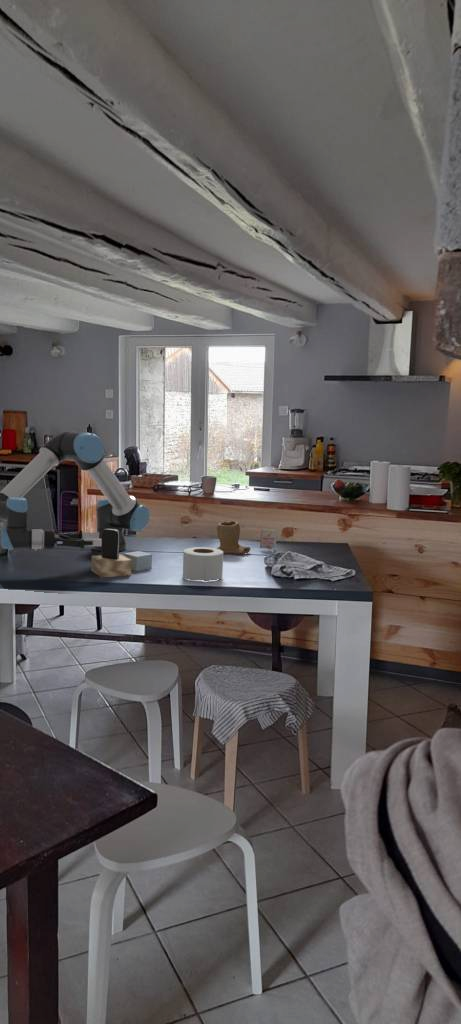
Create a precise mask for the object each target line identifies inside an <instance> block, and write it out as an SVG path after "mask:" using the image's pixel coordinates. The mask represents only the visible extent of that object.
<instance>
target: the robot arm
mask: <svg viewBox="0 0 461 1024" xmlns="http://www.w3.org/2000/svg"><path fill="white" fill-rule="evenodd" d="M104 448H105V445H104V442H103V440H102V439H101V437H99V436H98V435H96V434H94V433H92V432H79V431H63V432H60V433H58V434H57V435H54V436H53V437H52V438H50V439H49V440H48V441H46V442H45V444H43V445H42V446H41V447H40V448H39V451H38V452H39V453H38V454H36V456H35V457H34V458H33V459H31V461H30V462H29V463H28V464H27V465H25V467H24V468H23V469H22V470H21V471H20V472H19V473H17V474H16V476H15V477H13V478H12V480H10V482H8V484H6V486H5V487H4V488H3V489H1V490H0V520H1V521H5V522H6V528H5V529H4V528H3V529H1V533H0V546H1V548H2V549H3V550H4V549H5V550H14V551H15V550H34V551H38V550H42V549H43V548H44V549H45V550H54V549H55V544H56V546H57V547H72V548H81V549H85V547H92V550H94V551H97V552H102V531H103V530H104V529H117V530H119V531H120V534H121V541H120V543H119V552H123V551H126V550H127V542H126V539H125V535H124V532H123V531H124V530H127V531H132V532H141V531H143V530H144V529H145V528H146V527H147V526H148V524H149V521H150V516H151V514H150V510H149V508H148V507H147V506H146V505H144V504H140V503H139V502H138V500H137V499H136V497H135V496H134V495H129V493H128V492H127V490H126V489H125V488H124V486H123V484H122V483H121V482H120V480H119V478H117V476H116V475H115V474H114V472H113V470H112V469H111V467H110V466H109V465H108V463H107V462H106V461H105V455H106V454H105V449H104ZM64 461H74V462H75V464H76V465H77V466H78V468H79V469H80V470H81V471H83V472H86V473H88V475H89V476H90V478H91V480H93V482H94V483H95V484H96V486H97V487H98V489H99V490H100V492H101V493H102V494H103V496H104V497H105V498H102V499H99V500H98V501H97V503H96V506H97V507H96V532H90V531H89V532H88V531H87V532H83V530H78V531H70V532H57V533H56V534H55V529H53V528H50V529H47V528H46V529H44V530H43V528H39V529H38V528H37V529H35V528H34V529H33V528H32V529H28V511H29V508H28V500H27V498H25V497H24V496H25V495H26V494H27V493H28V492H30V490H31V489H32V488H33V487H34V486H35V485H36V484H37V483H38V482H39V481H40V480H41V479H42V478H44V477H45V475H46V474H47V473H48V472H50V470H51V469H52V468H53V467H58V466H59V465H60V464H61V463H62V462H64Z"/></svg>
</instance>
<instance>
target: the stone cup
mask: <svg viewBox="0 0 461 1024" xmlns="http://www.w3.org/2000/svg"><path fill="white" fill-rule="evenodd" d="M216 533H217V537H218V541H219V546H218V547H217V548H216V549H220V550H222V551H223V554H228V553H229V555H241V554H245V553H247V554H249V552H250V551H251V547H250V546H243V545H240V544H239V540H240V534H241V525H240V523H239V522H238V521H236V520H230V521H228V520H227V521H225V520H224V521H220V522H218V524H217V525H216ZM245 555H246V554H245Z"/></svg>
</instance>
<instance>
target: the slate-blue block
mask: <svg viewBox="0 0 461 1024" xmlns="http://www.w3.org/2000/svg"><path fill="white" fill-rule="evenodd" d="M123 556H125V557H127V558H129V559H130V560H131V571H133V572H134V571H135V572H141V571H145V569H146V570H150V569H151V570H152V569H153V568H152V567H153V565H152V564H153V554H152V553H148V552H145V551H140V550H138V551H130V552H125V553H124V552H123ZM140 570H141V571H140Z"/></svg>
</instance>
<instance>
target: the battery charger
mask: <svg viewBox="0 0 461 1024" xmlns="http://www.w3.org/2000/svg"><path fill="white" fill-rule="evenodd" d="M120 541H121V534H120V531H119V530H117V529H104V530H103V531H102V551H101V555H102V557H104V558H112V559H118V558H119V554H120V553H119V552H120V551H119V543H120Z"/></svg>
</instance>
